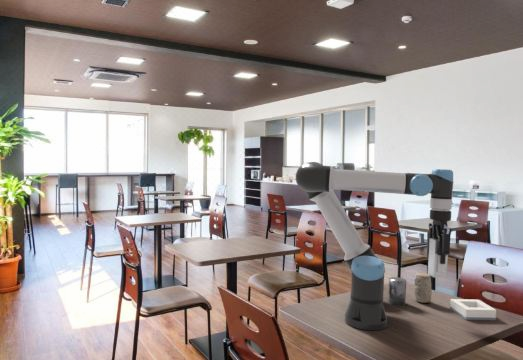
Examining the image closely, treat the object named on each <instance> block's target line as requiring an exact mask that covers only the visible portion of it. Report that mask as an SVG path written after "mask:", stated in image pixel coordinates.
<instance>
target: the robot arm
mask: <svg viewBox="0 0 523 360" xmlns="http://www.w3.org/2000/svg"><path fill="white" fill-rule="evenodd" d="M295 181H296V182H295V183H296V184H297V186H298V187H299V189H300V190H302V191H304V193H305V194H306V196H307V198H308V199H309V201H312V202H314V203H315V204H316V206H317V208H318V209H319V211H320V213H321V214H322V216H323V218H324V220H325V221H326V223H327V225H328V226H329V228H330V230H331V232H332V234H333V235H334V238H335V239H336V240H337V243H338V244H339V246H340V247H341V250H342V251H343V253H344V256H343V260H344V262H345V263H346V265H347V267H348V269H349V271H350V273H351V277H350V278H351V280H350V298H349V303H348V304H347V308H346V311H345V313H344V321H345V323H346V324H347V325H348V326H350V327H354V328H356V329H358V330H359V329H360V330H363V331H379V330H384V329H386V327H387V326H388V318H387V314H386V311H385V306H384V290H385V286H384V285H385V273H386V267H385V263H384V261H383V260H382V259H381V258H379V257H378V256H377V255H376V254H375V252H374V250H373V249H372V247H371V245H369V244H366V243H364V241H363V239H362V238H361V236H360V234H359V233H358V231H357V229H356V228H355V226H354V224H353V222H352V221H351V219H350V217H349V215H348V214H347V211H346V210H345V208H344V207H343V205H342V203H341V201H340V200H339V198H338V196H337V194H336V193H335V190H338V191H349V192H350V191H353V192H354V191H355V192H366V193H369V192H370V193H382V194H383V193H384V194H398V195H409V196H416V197H417V196H418V197H424V196H427V195H429V194H430V206H429V208H430V210H429V219H430V220H432V222H431V223H430V222H429V223H428V240H427V242H428V243H427V247H428V249H429V242H430V238H433V239H438V241H439V254H437V255H438V261H437V272H445V261H446V255H448V256H449V255H450V252H451V250H450V249H451V235H452V232H453V230H452V228H449V226H448V222H450V221H452V211H451V210H452V206H453V191H454V171H453V170H452V169H445V168H443V169H442V168H441V169H440V168H439V169H438V168H433V169H432V171H431V173H418V172H416V173H413V172H388V171H387V172H386V171H376V170H375V171H372V170H370V171H369V170H358V169H357V170H354V169H341V168H339V169H337V168H335V167H333V166H332V165H323V164H321V163H319V162H316V161H310V162H305V163H303V164H301V165H300V166H299V167H298V168H297V171H296V172H295Z"/></svg>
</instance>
